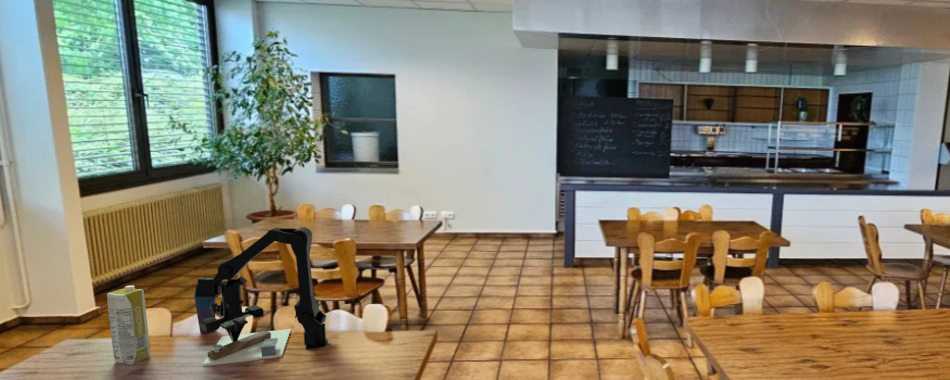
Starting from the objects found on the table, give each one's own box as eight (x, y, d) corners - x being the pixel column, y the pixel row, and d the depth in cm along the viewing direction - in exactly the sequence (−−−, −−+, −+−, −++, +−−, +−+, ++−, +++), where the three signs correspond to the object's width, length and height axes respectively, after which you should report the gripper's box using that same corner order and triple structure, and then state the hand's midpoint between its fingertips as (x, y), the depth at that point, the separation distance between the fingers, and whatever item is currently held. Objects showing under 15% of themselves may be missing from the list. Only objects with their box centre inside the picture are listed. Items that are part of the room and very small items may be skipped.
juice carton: (154, 356, 161) (147, 284, 158) (131, 367, 154) (122, 292, 151) (134, 352, 164) (126, 282, 162) (110, 363, 157) (101, 290, 154)
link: (214, 359, 154) (213, 354, 154) (207, 357, 157) (207, 351, 156) (271, 337, 171) (270, 332, 171) (264, 335, 173) (264, 330, 173)
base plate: (291, 330, 179) (290, 319, 179) (282, 356, 158) (281, 343, 157) (222, 338, 174) (221, 326, 174) (203, 366, 153) (202, 353, 152)
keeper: (278, 346, 164) (277, 337, 163) (275, 355, 157) (274, 345, 157) (265, 348, 163) (264, 339, 162) (261, 356, 156) (261, 347, 156)
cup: (209, 335, 177) (205, 295, 175) (192, 334, 178) (189, 294, 177) (222, 328, 184) (219, 289, 182) (206, 327, 185) (203, 288, 183)
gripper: (248, 285, 175) (250, 328, 177) (191, 299, 161) (194, 345, 163) (263, 292, 168) (266, 336, 170) (205, 307, 154) (209, 355, 156)
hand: (234, 342), depth 165 cm, fingers closed
